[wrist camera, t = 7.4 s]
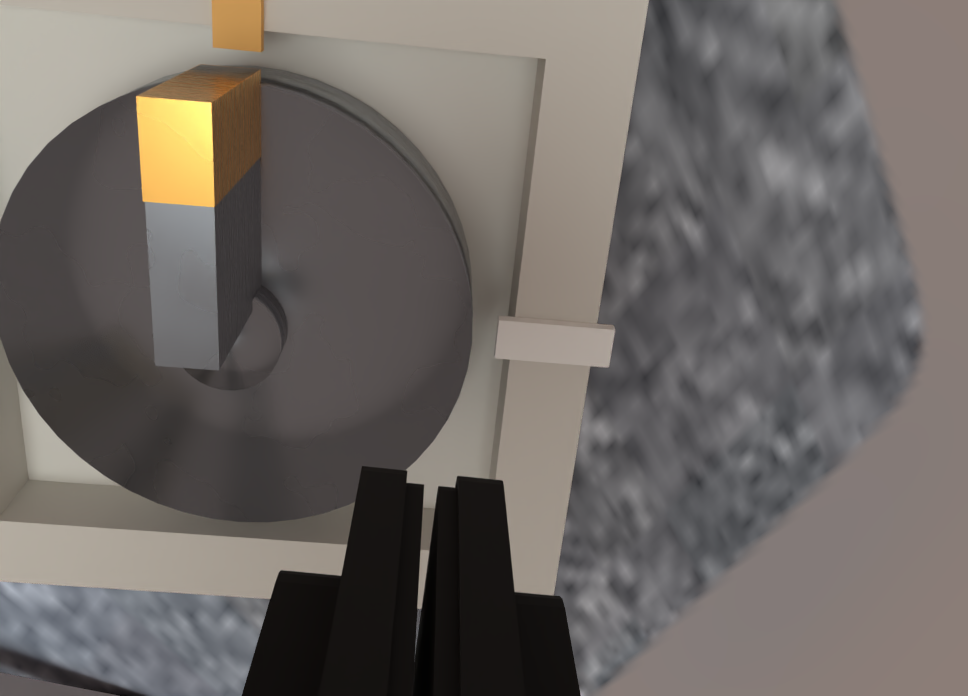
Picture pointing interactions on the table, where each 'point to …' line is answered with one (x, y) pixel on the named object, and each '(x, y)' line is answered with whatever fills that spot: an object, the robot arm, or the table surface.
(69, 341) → the grey round piece
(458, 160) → the tray
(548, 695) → the robot arm
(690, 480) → the table surface
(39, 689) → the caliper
